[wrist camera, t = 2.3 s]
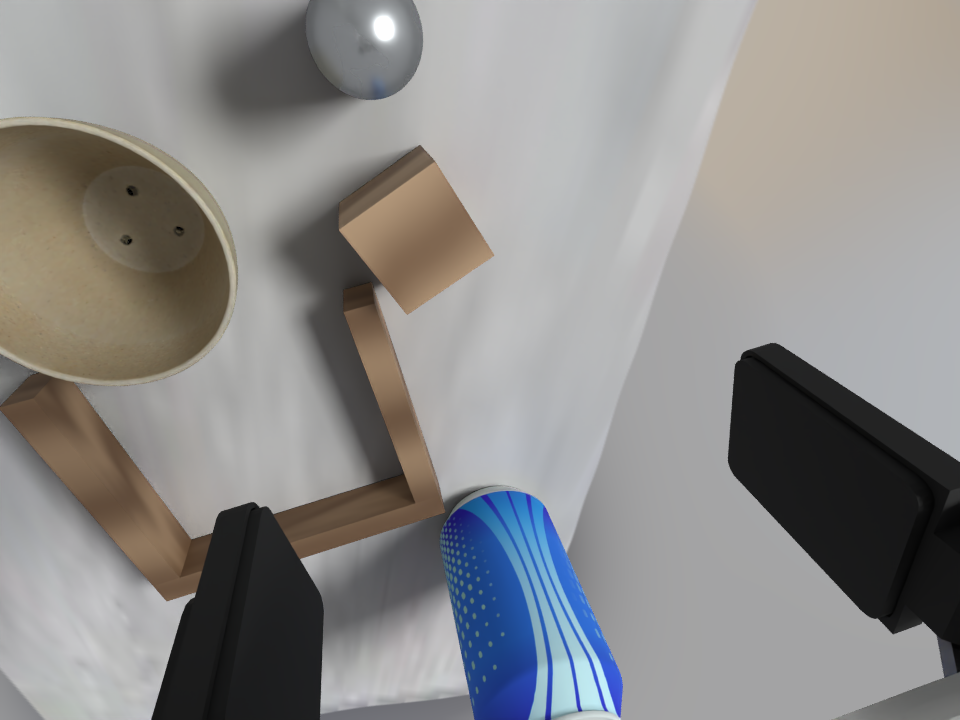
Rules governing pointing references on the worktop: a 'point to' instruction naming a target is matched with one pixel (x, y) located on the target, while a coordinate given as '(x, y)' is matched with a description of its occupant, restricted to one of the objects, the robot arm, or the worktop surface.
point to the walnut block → (412, 230)
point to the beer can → (523, 614)
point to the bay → (309, 528)
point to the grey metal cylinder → (365, 44)
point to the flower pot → (107, 255)
